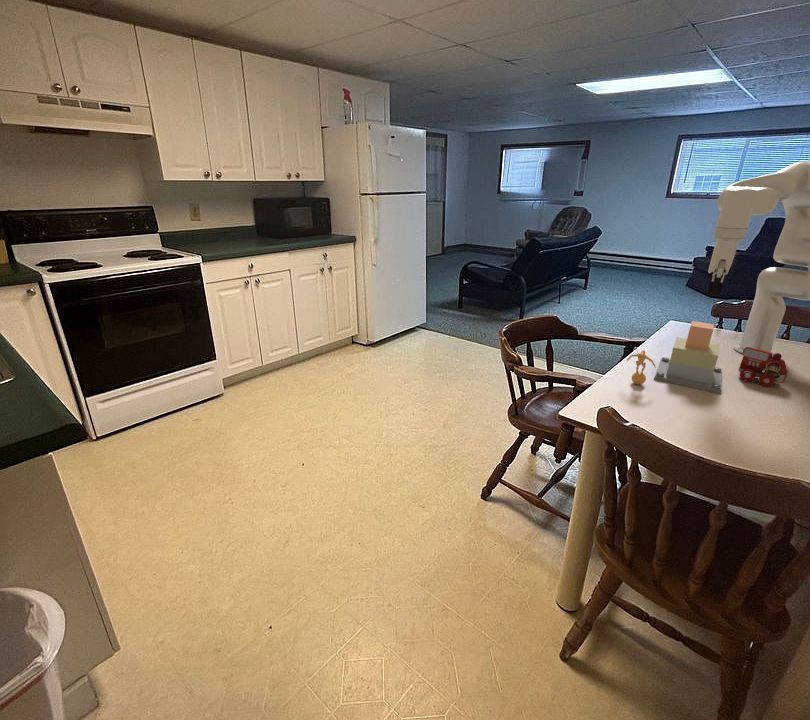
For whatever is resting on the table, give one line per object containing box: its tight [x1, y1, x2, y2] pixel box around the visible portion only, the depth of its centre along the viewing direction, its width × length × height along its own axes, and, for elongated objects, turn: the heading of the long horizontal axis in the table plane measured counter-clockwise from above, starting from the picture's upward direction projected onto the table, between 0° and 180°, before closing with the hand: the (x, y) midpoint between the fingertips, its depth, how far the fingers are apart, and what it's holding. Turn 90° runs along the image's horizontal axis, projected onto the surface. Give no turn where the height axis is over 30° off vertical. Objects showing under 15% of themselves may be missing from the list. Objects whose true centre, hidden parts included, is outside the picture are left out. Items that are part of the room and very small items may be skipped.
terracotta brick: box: [685, 320, 715, 350], centre depth 139 cm, size 6×6×7 cm
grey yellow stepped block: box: [653, 336, 723, 395], centre depth 142 cm, size 18×18×11 cm
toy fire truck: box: [738, 347, 789, 388], centre depth 140 cm, size 7×12×10 cm, turn 42°
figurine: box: [626, 349, 656, 386], centre depth 136 cm, size 8×6×12 cm
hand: (713, 291), depth 134 cm, fingers open, 9 cm apart
